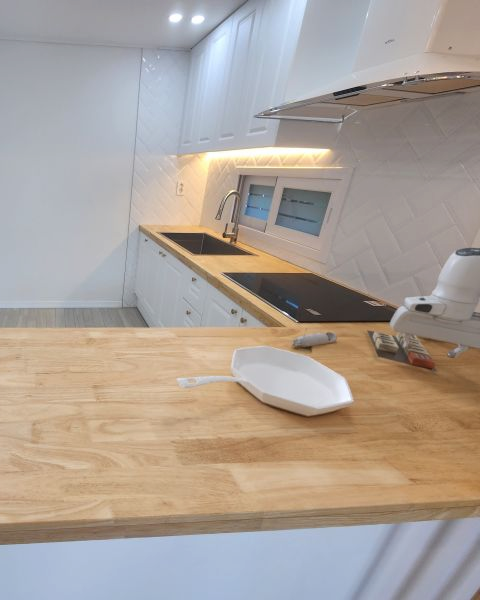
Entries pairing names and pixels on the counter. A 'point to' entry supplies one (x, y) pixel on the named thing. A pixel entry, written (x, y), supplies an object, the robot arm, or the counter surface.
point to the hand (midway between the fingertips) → (428, 352)
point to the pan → (284, 381)
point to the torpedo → (314, 339)
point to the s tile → (421, 360)
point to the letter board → (398, 356)
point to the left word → (385, 342)
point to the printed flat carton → (416, 346)
